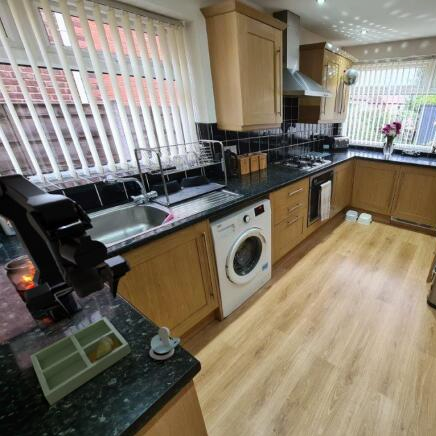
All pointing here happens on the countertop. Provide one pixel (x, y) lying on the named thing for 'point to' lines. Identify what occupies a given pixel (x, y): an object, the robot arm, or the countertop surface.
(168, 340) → the pacifier
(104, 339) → the lime
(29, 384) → the countertop surface
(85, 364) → the green divided tray
